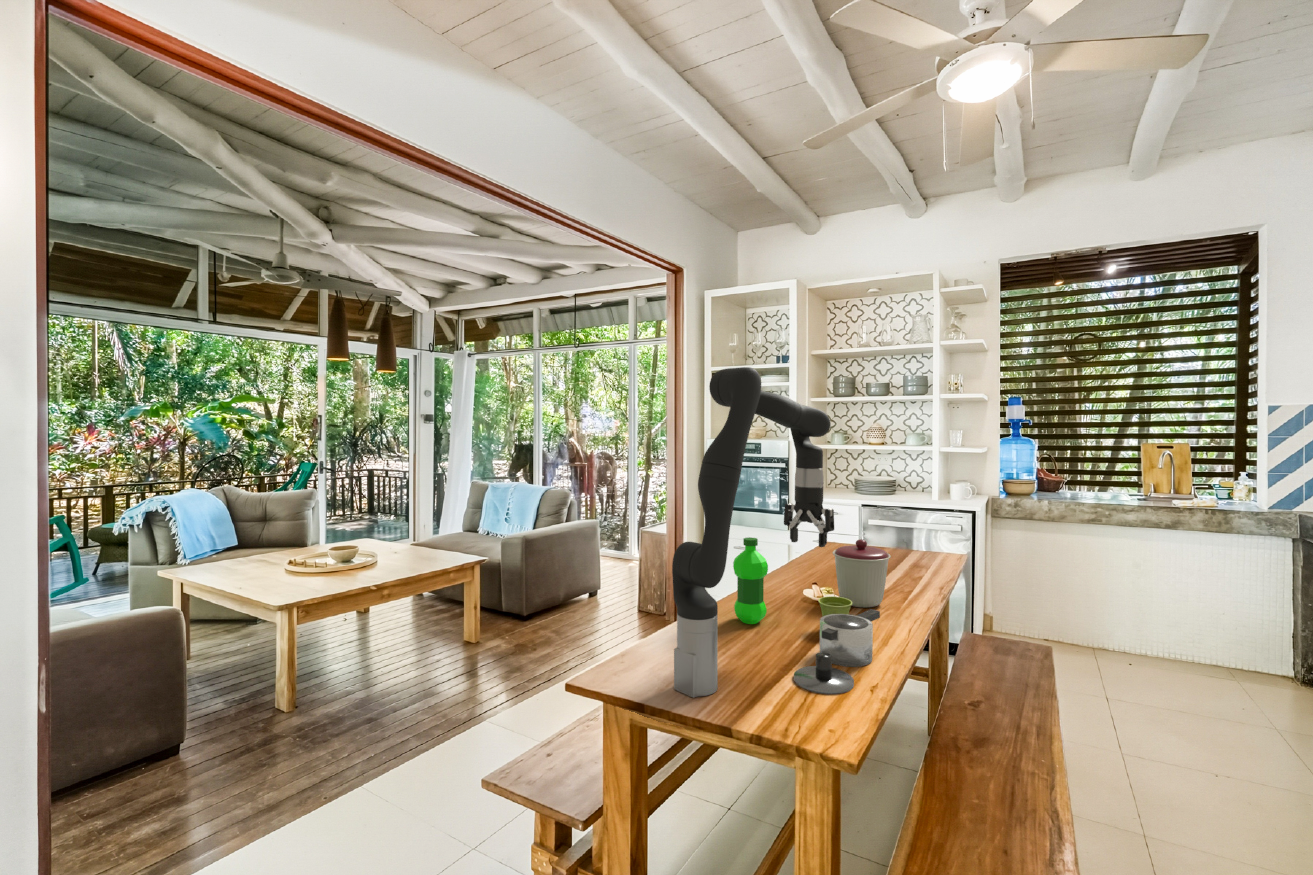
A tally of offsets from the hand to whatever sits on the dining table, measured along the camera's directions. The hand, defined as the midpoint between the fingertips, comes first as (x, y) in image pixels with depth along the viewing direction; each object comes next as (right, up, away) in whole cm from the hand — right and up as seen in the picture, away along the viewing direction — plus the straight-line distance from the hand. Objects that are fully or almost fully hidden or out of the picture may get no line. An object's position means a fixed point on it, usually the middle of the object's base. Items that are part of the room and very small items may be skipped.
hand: (808, 544), depth 170 cm
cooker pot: (+10, -27, -6) cm, 30 cm away
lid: (-2, -29, -23) cm, 37 cm away
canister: (+26, -26, +37) cm, 52 cm away
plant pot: (+10, -27, +11) cm, 31 cm away
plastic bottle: (-13, -27, +19) cm, 35 cm away
